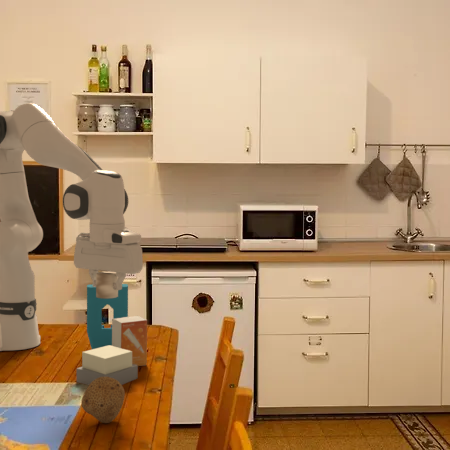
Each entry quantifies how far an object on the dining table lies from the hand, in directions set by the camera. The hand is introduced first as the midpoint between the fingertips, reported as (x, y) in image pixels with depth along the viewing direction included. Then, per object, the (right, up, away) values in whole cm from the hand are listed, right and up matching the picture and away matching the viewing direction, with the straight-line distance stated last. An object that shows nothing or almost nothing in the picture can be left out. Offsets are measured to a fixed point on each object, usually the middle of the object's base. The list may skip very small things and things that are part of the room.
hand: (107, 288), depth 162 cm
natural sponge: (+4, -26, -26) cm, 37 cm away
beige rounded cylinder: (0, -2, 0) cm, 2 cm away
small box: (+3, -23, +16) cm, 28 cm away
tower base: (0, -25, +2) cm, 25 cm away
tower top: (0, -21, +2) cm, 21 cm away
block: (-5, -22, +29) cm, 37 cm away
